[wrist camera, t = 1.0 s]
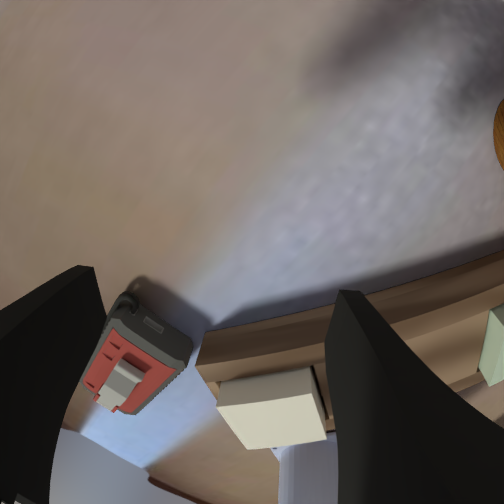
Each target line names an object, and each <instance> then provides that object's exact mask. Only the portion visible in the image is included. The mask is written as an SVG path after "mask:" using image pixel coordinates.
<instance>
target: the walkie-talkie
mask: <svg viewBox="0 0 504 504" xmlns="http://www.w3.org/2000/svg"><path fill="white" fill-rule="evenodd" d="M121 301H122V303H121ZM120 303H121V304H120ZM118 306H119V307H118ZM192 350H193V344H192V341H191V338H189V337H188V336H186V335H185V334H183V333H182V332H180V331H179V330H177V329H176V328H174V327H173V326H171V325H170V324H168V323H167V322H165V321H164V320H162V319H161V318H159V317H158V316H156V315H155V314H153V313H152V312H151V311H149V310H148V309H146V308H145V307H143V306H142V305H141V304H140V302H139V299H138V297H137V296H136V295H135V294H134V293H132V292H130V291H125V292H123V293H122V294H120V295H119V297H118V298H117V299H116V301H115V303H114V304H113V306H112V308H111V310H110V311H109V313H108V315H107V320H106V322H105V325H104V328H103V331H102V334H101V336H100V339H99V342H98V344H97V346H96V349H95V351H94V353H93V354H92V356H91V358H90V360H89V362H88V364H87V366H86V368H85V370H84V372H83V374H82V376H81V378H80V380H79V382H80V383H81V385H82V386H83V387H84V388H85V389H86V390H88V391H89V392H91V393H92V394H94V395H95V396H94V398H93V400H94V401H96V402H97V403H99V404H100V405H102V406H103V407H105V408H107V409H108V410H110V411H112V412H113V413H114V412H115V411H116V410H119V411H121V412H122V413H124V414H129V415H136V414H137V413H138V412H140V411H141V410H142V409H143V408H144V407H145V406H146V405H147V404H148V403H149V402H151V401H152V400H153V399H154V397H156V395H158V394H159V392H161V391H162V390H163V389H164V388H165V387H167V385H168V384H170V382H171V381H173V380H174V378H176V377H177V375H180V373H181V372H183V371H184V368H187V365H188V362H189V359H190V356H191V353H192Z"/></svg>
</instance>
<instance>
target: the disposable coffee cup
mask: <svg viewBox="0 0 504 504" xmlns="http://www.w3.org/2000/svg"><path fill="white" fill-rule="evenodd" d="M493 136H494V146H495V151H496V154H497V158H498V160H499V163H500V165H501V167H502V168H503V170H504V100H503V101H502V102H501V104H500V105H499V107H498V110H497V113H496V115H495V120H494V131H493Z"/></svg>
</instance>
